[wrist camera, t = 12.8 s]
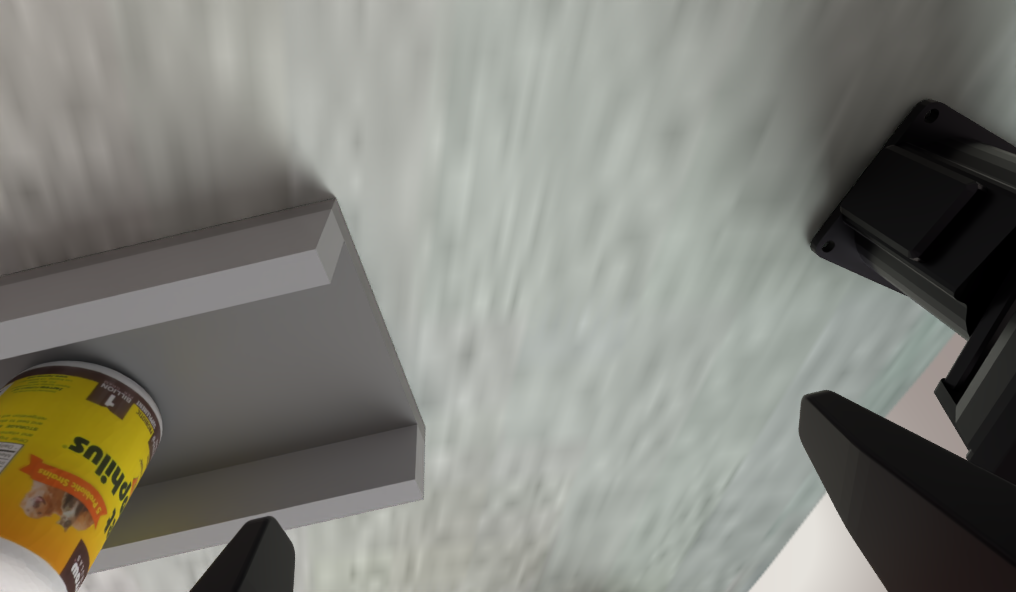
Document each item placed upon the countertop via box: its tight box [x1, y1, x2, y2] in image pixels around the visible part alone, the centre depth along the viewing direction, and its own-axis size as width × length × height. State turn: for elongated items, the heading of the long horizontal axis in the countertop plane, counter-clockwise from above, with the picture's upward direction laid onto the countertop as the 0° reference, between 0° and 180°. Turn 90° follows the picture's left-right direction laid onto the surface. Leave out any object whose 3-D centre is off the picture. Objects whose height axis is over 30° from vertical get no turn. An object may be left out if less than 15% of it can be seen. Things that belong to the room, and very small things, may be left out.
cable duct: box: [0, 198, 425, 574], centre depth 22 cm, size 24×11×4 cm, turn 102°
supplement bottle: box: [0, 361, 163, 592], centre depth 18 cm, size 6×6×10 cm
